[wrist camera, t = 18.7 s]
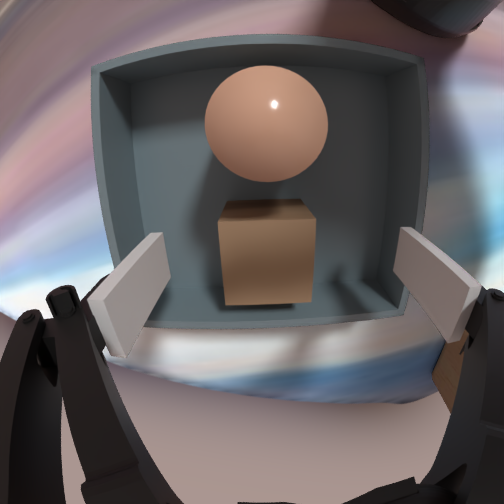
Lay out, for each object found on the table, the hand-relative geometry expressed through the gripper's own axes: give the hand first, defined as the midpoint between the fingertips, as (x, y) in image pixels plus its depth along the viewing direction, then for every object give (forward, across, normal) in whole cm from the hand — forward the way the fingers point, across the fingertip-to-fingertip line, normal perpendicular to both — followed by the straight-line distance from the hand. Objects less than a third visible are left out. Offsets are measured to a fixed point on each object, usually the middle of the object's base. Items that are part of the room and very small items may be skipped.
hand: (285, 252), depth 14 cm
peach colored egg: (+5, -1, +6) cm, 8 cm away
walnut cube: (+5, -1, -1) cm, 5 cm away
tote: (+6, -1, +3) cm, 7 cm away
